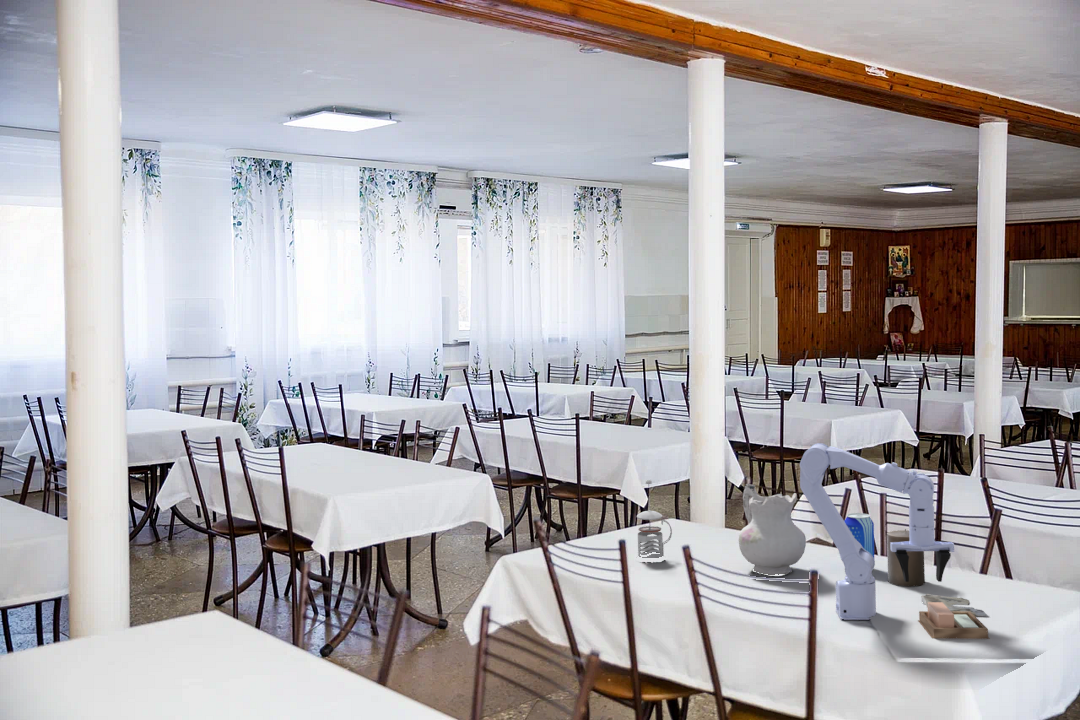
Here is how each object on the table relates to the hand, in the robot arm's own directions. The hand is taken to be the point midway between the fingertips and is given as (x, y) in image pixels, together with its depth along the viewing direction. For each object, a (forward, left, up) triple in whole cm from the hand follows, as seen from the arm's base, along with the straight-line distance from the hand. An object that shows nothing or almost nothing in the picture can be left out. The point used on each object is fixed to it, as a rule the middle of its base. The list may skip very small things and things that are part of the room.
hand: (922, 580), depth 249 cm
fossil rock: (+10, +10, -11) cm, 18 cm away
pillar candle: (+4, +36, -10) cm, 38 cm away
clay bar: (+2, -9, -9) cm, 13 cm away
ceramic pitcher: (-32, +49, -10) cm, 59 cm away
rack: (+4, -9, -10) cm, 14 cm away
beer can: (-6, +50, -10) cm, 51 cm away
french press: (-66, +63, -10) cm, 92 cm away
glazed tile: (+7, -9, -9) cm, 15 cm away
